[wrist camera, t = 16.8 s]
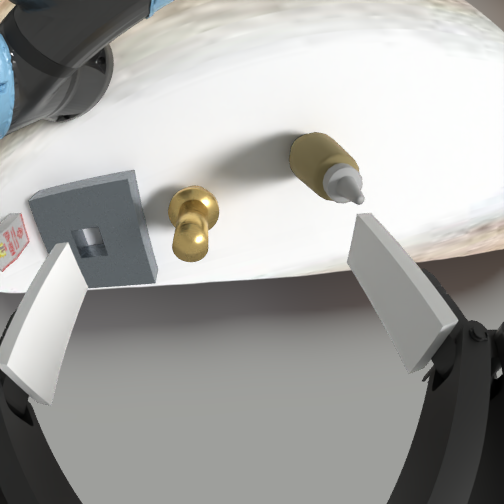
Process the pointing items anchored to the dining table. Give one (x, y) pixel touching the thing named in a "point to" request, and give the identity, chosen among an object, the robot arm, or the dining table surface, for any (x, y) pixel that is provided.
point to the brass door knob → (192, 222)
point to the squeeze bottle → (326, 168)
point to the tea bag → (12, 239)
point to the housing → (110, 225)
